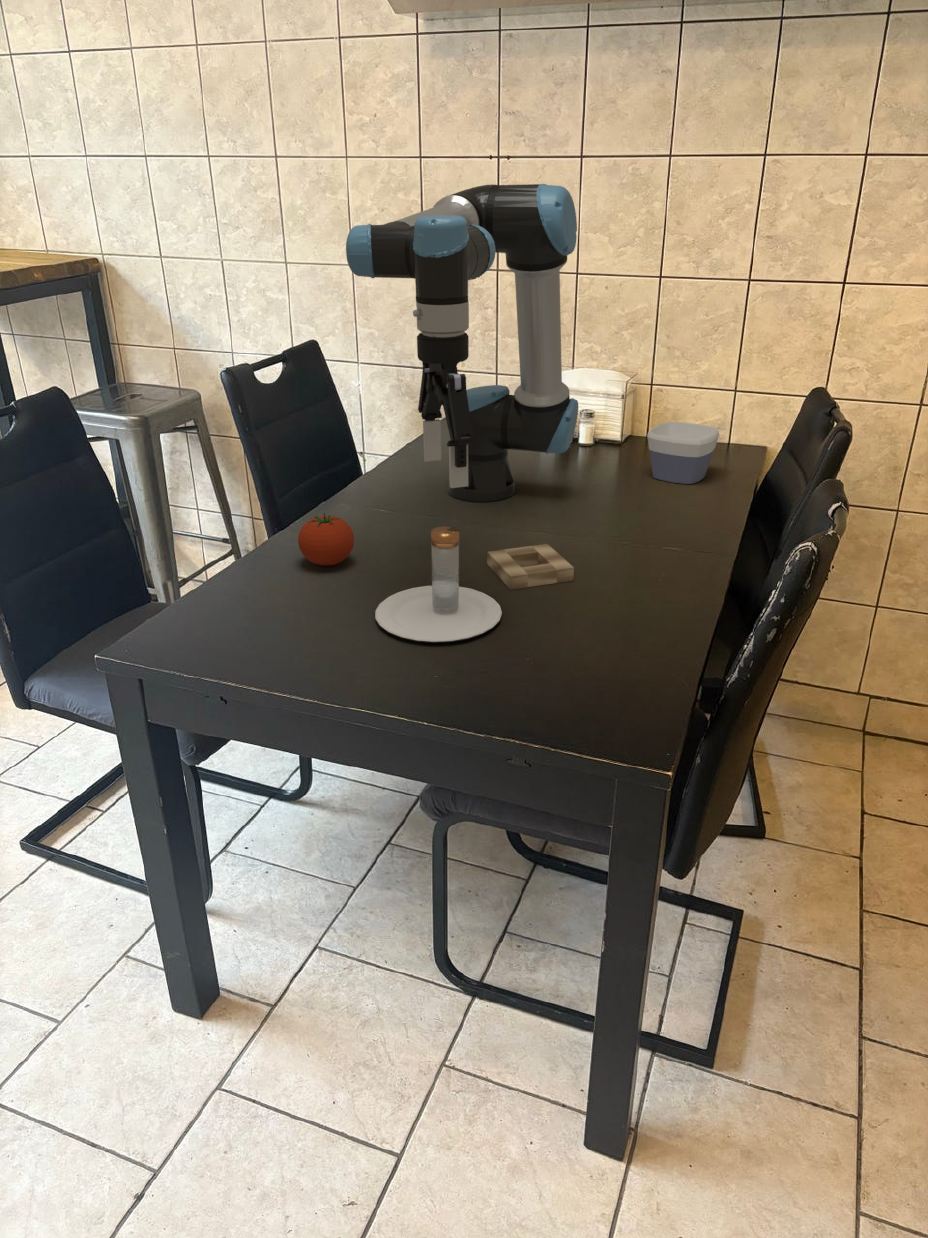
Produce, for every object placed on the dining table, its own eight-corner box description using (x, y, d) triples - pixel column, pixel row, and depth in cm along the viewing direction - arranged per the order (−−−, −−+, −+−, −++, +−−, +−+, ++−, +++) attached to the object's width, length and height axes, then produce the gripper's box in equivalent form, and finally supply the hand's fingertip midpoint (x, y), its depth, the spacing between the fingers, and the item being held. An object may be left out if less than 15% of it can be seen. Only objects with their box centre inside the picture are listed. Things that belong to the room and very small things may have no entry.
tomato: (333, 549, 176) (329, 499, 172) (366, 563, 170) (363, 512, 165) (289, 563, 170) (284, 513, 166) (322, 579, 163) (318, 527, 159)
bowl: (721, 473, 218) (726, 427, 213) (699, 490, 207) (704, 442, 202) (660, 463, 226) (664, 418, 221) (635, 479, 214) (639, 433, 209)
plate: (457, 662, 137) (457, 652, 136) (349, 629, 147) (348, 619, 146) (524, 610, 153) (524, 601, 152) (422, 583, 163) (422, 575, 162)
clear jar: (428, 600, 152) (427, 528, 147) (454, 597, 154) (454, 525, 148) (436, 612, 149) (435, 538, 143) (462, 608, 150) (462, 534, 144)
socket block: (487, 564, 169) (487, 551, 168) (546, 556, 173) (547, 543, 172) (510, 589, 159) (510, 576, 158) (573, 580, 163) (573, 567, 161)
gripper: (395, 320, 142) (401, 452, 151) (443, 349, 120) (446, 501, 130) (441, 317, 144) (444, 448, 153) (496, 345, 123) (495, 495, 132)
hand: (445, 473), depth 142 cm, fingers open, 13 cm apart
